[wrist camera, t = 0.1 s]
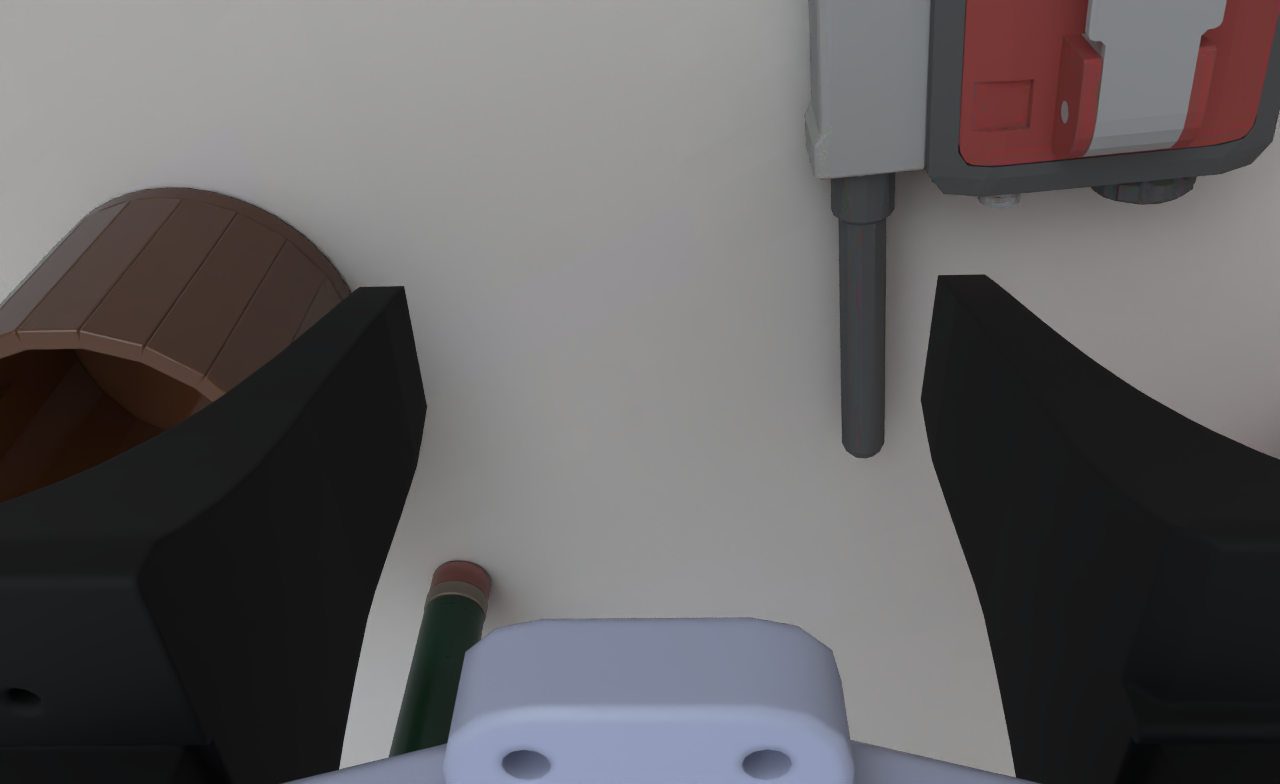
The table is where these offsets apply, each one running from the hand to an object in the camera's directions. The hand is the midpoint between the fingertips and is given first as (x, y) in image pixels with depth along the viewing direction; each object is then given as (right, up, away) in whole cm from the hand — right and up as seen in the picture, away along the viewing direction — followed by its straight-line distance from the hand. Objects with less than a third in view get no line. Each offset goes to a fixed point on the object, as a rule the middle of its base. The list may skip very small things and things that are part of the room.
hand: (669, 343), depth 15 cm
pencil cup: (-11, +1, +12) cm, 16 cm away
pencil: (-6, -6, +17) cm, 19 cm away
